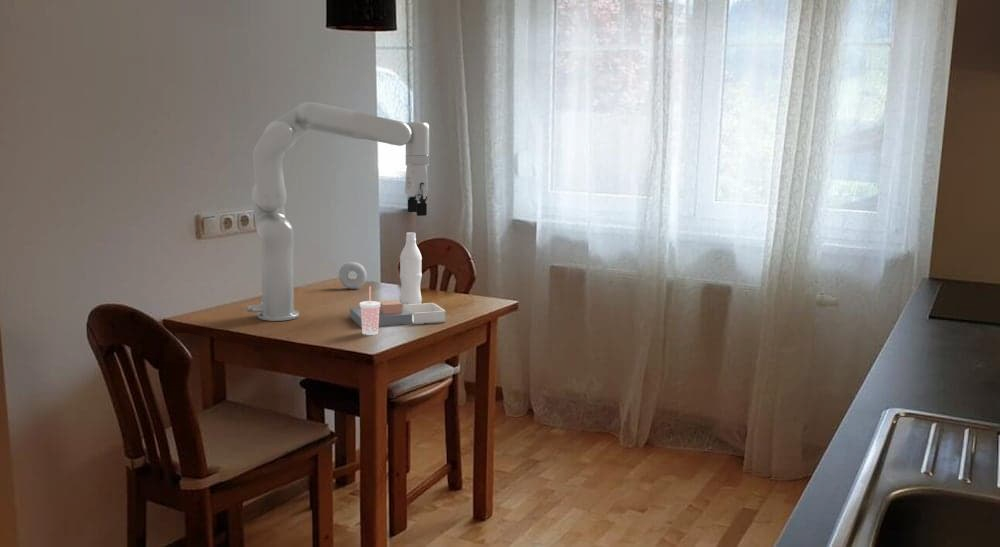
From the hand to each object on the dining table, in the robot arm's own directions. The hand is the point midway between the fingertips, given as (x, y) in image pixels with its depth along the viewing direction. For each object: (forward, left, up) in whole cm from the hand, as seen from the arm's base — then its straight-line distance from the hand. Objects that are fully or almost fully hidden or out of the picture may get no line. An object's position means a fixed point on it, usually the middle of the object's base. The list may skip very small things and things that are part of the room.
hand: (417, 213), depth 290 cm
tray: (-2, -16, -31) cm, 35 cm away
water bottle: (-2, 0, -31) cm, 31 cm away
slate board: (-16, -14, -31) cm, 38 cm away
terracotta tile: (-13, -16, -28) cm, 35 cm away
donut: (-13, +35, -31) cm, 49 cm away
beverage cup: (-23, -28, -31) cm, 48 cm away
